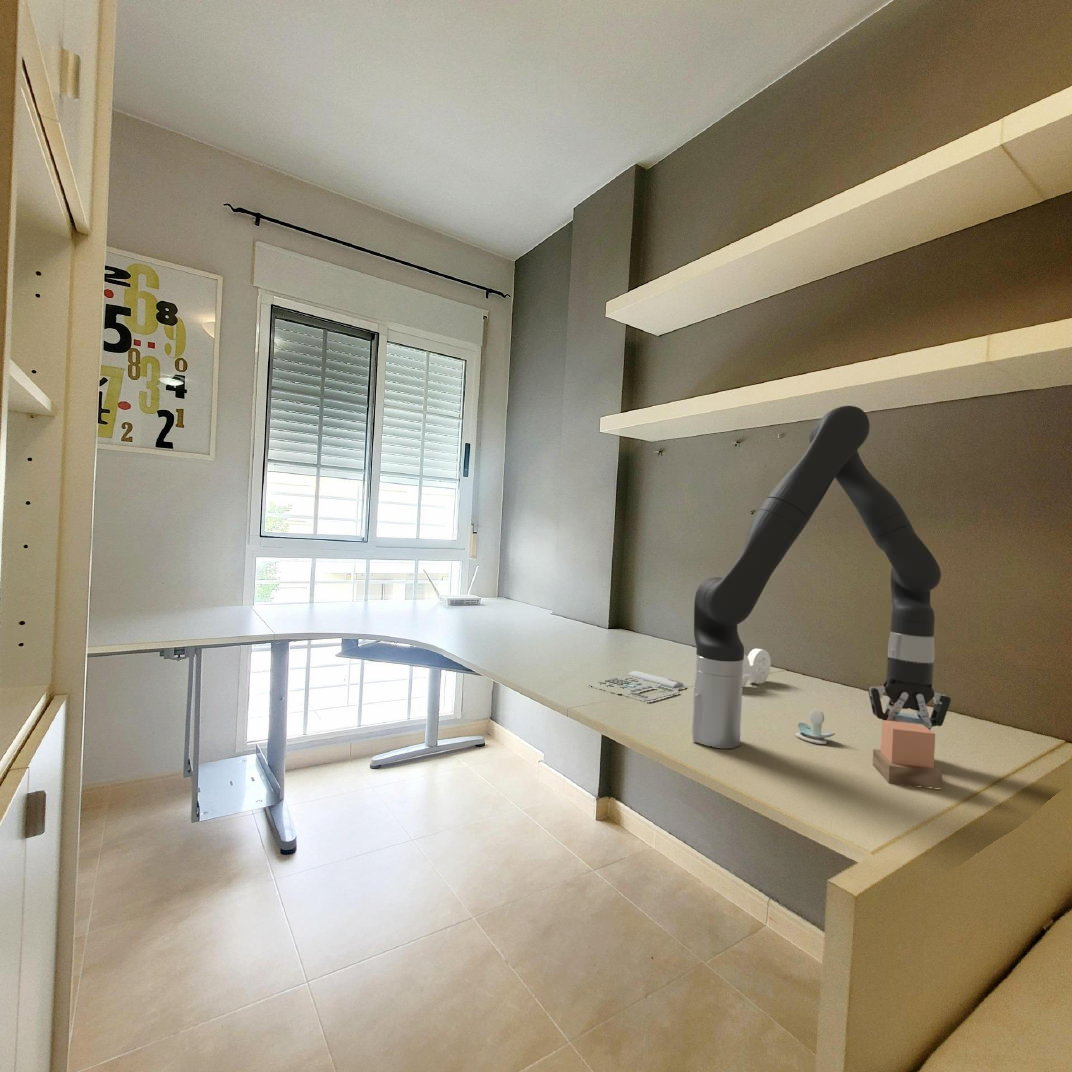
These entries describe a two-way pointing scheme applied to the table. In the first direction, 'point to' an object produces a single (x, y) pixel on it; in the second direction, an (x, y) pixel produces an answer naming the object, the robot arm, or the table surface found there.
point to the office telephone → (641, 687)
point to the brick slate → (910, 719)
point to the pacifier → (813, 729)
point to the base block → (906, 772)
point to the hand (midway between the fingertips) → (905, 742)
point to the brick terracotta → (908, 743)
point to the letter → (756, 666)
